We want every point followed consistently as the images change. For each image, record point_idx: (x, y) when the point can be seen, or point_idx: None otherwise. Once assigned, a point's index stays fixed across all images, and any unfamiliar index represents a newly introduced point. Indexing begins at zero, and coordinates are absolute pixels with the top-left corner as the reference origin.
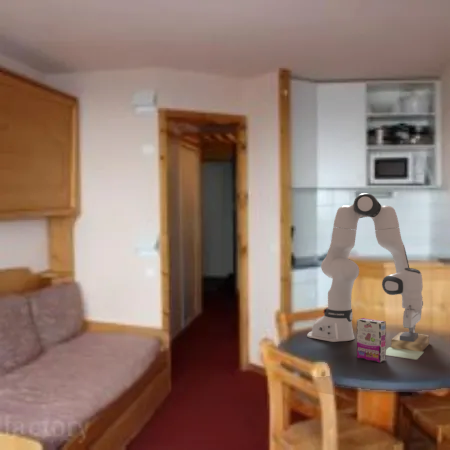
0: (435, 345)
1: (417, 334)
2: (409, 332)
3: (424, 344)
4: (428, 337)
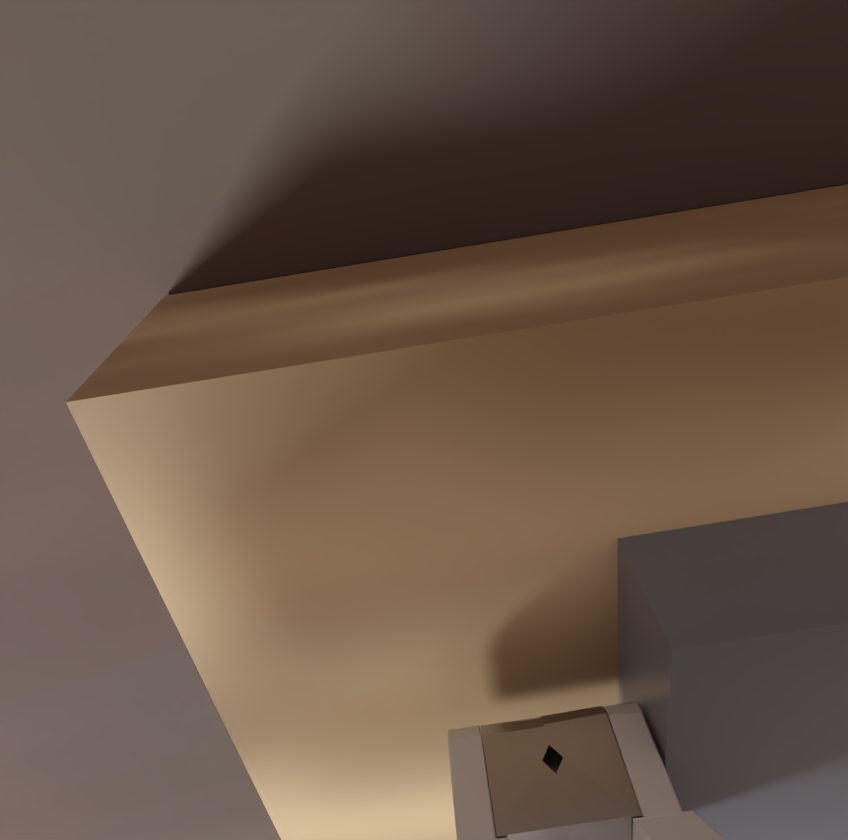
0: (173, 99)
1: (774, 610)
2: (707, 811)
3: (810, 228)
4: (224, 358)
